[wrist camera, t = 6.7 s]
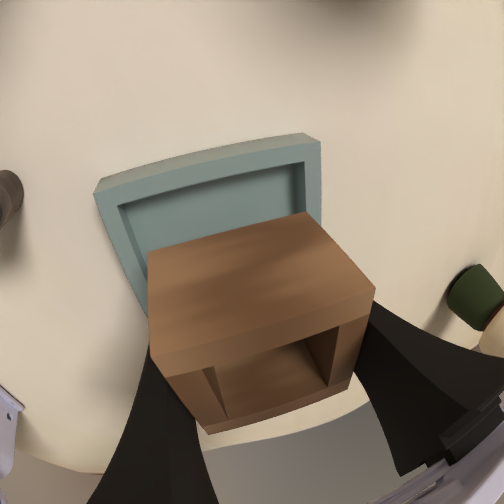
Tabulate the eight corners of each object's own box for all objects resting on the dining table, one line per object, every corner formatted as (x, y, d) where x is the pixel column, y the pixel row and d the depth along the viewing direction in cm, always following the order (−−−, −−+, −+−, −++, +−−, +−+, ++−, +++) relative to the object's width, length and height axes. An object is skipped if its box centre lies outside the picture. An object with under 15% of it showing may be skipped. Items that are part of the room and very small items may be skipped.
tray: (306, 282, 19) (318, 301, 17) (160, 323, 17) (162, 345, 16) (302, 132, 13) (320, 141, 12) (100, 178, 12) (92, 193, 10)
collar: (306, 211, 11) (375, 287, 7) (306, 316, 14) (347, 389, 11) (147, 252, 10) (150, 356, 6) (190, 350, 13) (208, 434, 10)
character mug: (453, 313, 31) (510, 383, 21) (423, 322, 29) (487, 406, 18) (493, 242, 25) (566, 311, 15) (469, 240, 23) (557, 324, 13)
